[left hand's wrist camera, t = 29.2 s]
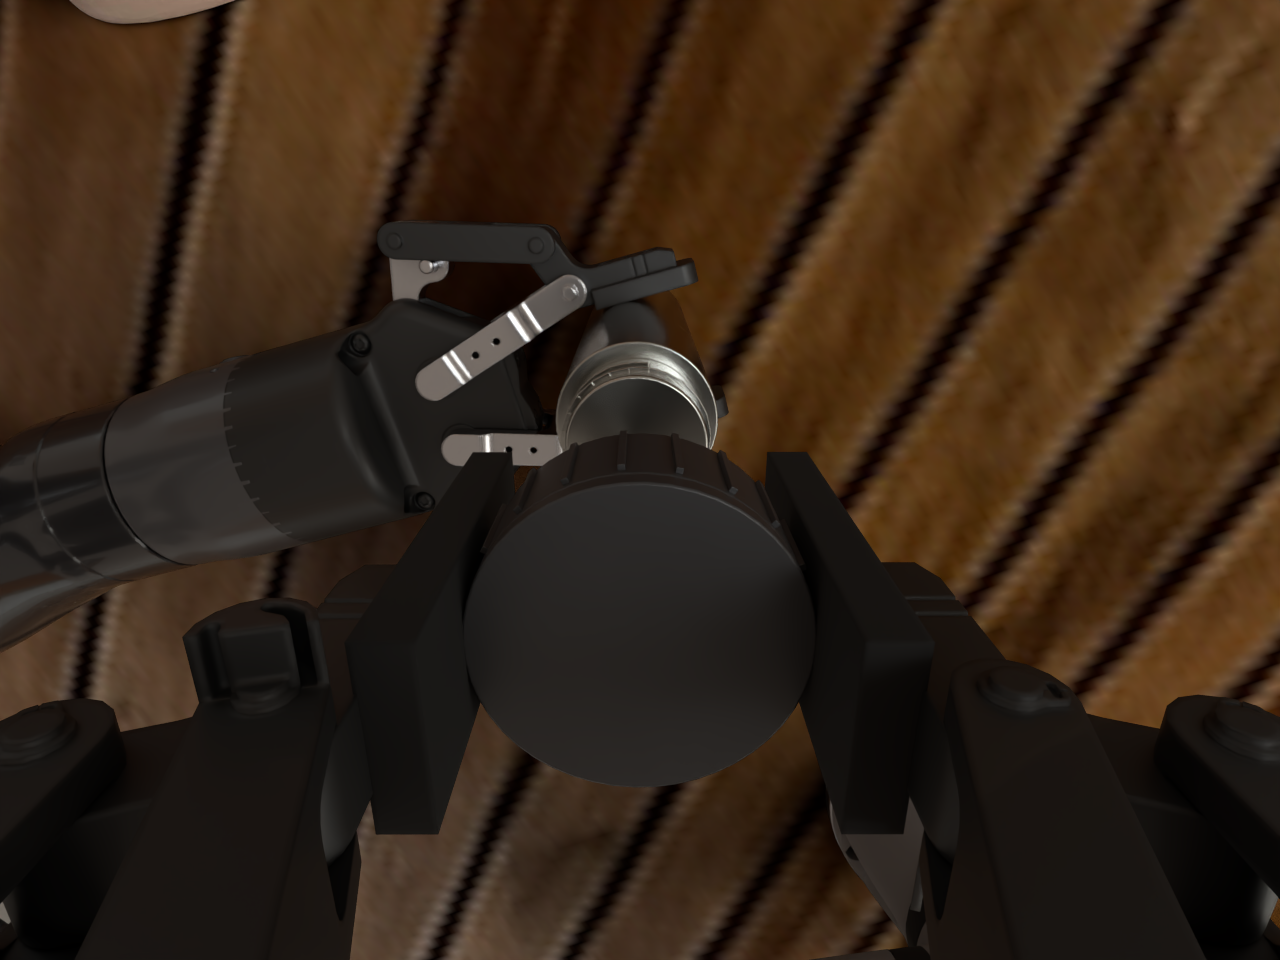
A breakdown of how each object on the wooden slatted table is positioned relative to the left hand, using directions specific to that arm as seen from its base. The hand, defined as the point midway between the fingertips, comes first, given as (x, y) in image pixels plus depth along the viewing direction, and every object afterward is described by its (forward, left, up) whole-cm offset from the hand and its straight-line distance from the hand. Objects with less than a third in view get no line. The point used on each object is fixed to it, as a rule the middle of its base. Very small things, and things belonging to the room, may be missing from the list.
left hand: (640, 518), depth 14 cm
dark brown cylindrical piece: (0, 0, -20) cm, 20 cm away
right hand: (+2, -2, -14) cm, 14 cm away
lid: (0, 0, +4) cm, 4 cm away
